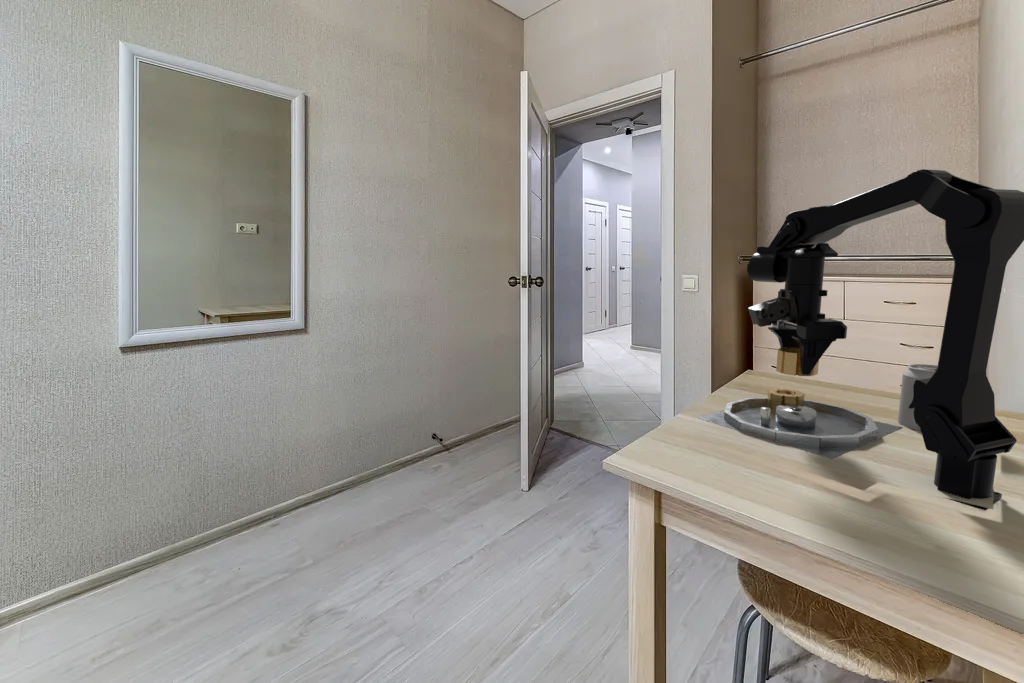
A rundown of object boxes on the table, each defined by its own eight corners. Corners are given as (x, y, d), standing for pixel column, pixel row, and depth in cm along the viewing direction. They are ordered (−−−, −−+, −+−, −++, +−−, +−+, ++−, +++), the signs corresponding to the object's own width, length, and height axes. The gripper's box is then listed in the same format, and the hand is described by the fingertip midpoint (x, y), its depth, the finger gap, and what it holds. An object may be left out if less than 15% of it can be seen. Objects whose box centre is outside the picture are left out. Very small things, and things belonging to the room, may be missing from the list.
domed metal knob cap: (803, 430, 88) (804, 416, 87) (768, 421, 93) (769, 407, 93) (822, 423, 91) (823, 409, 91) (787, 414, 97) (788, 401, 96)
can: (960, 438, 85) (969, 371, 83) (911, 436, 86) (919, 370, 84) (933, 424, 92) (940, 362, 90) (888, 422, 94) (894, 362, 92)
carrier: (831, 464, 75) (833, 437, 75) (696, 422, 97) (697, 400, 96) (902, 432, 88) (904, 408, 87) (769, 401, 109) (770, 382, 109)
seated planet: (791, 418, 95) (792, 398, 94) (761, 410, 100) (762, 391, 99) (808, 412, 98) (810, 393, 97) (778, 405, 103) (779, 386, 102)
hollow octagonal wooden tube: (823, 376, 84) (825, 353, 84) (786, 376, 85) (787, 353, 84) (806, 368, 91) (808, 347, 90) (771, 368, 91) (772, 347, 91)
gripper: (737, 282, 95) (732, 359, 98) (778, 288, 77) (771, 383, 80) (797, 281, 94) (791, 359, 97) (853, 286, 76) (843, 383, 78)
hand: (796, 370), depth 88 cm, fingers closed on hollow octagonal wooden tube, 6 cm apart
